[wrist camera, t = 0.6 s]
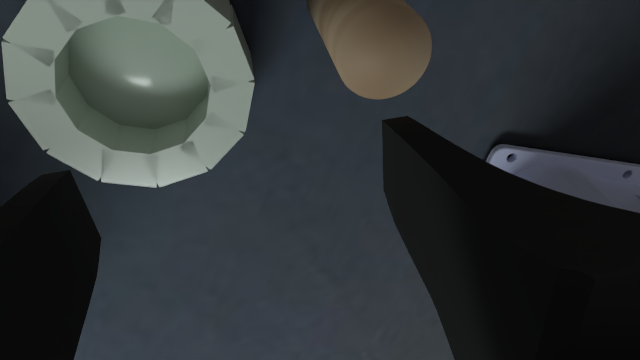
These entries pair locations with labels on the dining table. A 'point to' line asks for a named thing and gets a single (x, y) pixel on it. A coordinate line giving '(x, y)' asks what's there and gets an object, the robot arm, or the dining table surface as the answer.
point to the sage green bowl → (130, 85)
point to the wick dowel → (374, 44)
